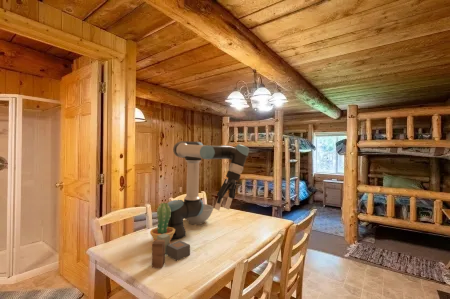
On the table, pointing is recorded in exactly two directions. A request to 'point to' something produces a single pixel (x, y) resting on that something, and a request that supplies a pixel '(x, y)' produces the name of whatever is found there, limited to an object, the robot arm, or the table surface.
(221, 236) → the table surface
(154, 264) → the walnut block
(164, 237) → the sage block
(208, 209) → the decorative bowl
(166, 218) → the potted cactus
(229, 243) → the table surface
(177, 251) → the charcoal base block
